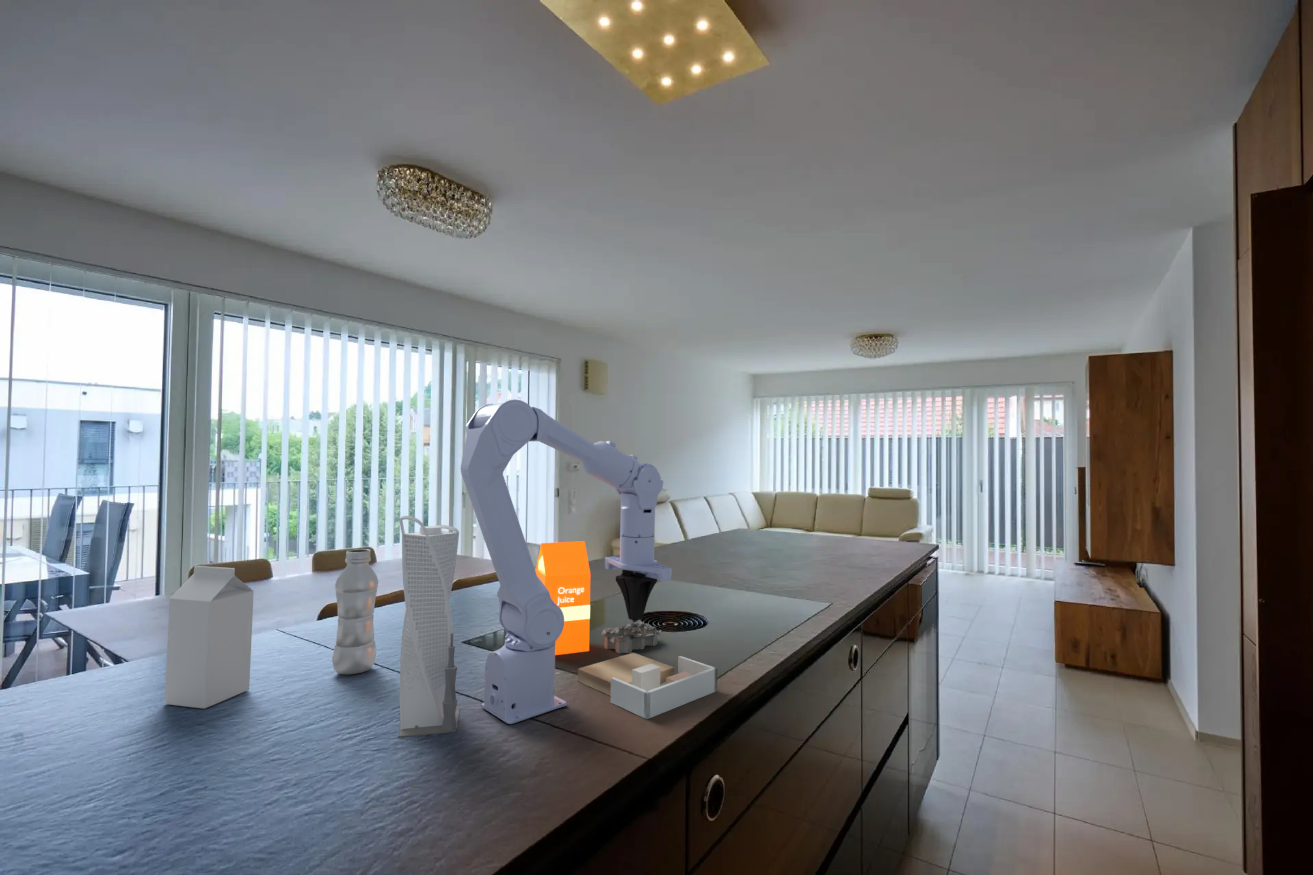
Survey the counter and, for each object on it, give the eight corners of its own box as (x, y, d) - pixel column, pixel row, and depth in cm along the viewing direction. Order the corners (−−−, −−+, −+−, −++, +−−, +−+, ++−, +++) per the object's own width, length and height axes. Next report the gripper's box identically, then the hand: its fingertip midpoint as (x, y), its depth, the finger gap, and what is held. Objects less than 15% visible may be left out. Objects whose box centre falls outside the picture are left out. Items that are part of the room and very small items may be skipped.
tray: (646, 719, 81) (647, 693, 81) (610, 702, 86) (610, 678, 86) (716, 690, 91) (717, 668, 91) (680, 677, 97) (680, 655, 97)
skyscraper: (385, 740, 74) (393, 518, 75) (396, 714, 82) (403, 513, 83) (456, 733, 76) (462, 517, 78) (459, 708, 84) (465, 512, 85)
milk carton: (204, 709, 82) (211, 572, 82) (163, 705, 83) (170, 570, 84) (249, 690, 89) (255, 564, 89) (210, 686, 90) (216, 562, 91)
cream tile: (631, 696, 88) (640, 700, 86) (632, 669, 88) (641, 673, 86) (650, 689, 90) (660, 693, 89) (651, 663, 91) (660, 666, 89)
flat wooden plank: (618, 699, 87) (618, 685, 87) (577, 681, 94) (578, 668, 94) (674, 679, 96) (674, 667, 96) (633, 664, 103) (633, 652, 103)
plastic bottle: (384, 666, 100) (388, 548, 101) (360, 680, 93) (364, 554, 94) (348, 664, 101) (352, 547, 102) (322, 678, 94) (327, 553, 95)
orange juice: (533, 644, 113) (535, 540, 114) (577, 639, 117) (579, 538, 118) (543, 657, 106) (545, 545, 107) (589, 651, 110) (591, 543, 111)
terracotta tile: (666, 677, 90) (665, 690, 90) (685, 684, 87) (685, 698, 87) (683, 671, 93) (683, 684, 93) (702, 678, 90) (702, 691, 90)
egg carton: (621, 656, 107) (621, 634, 108) (597, 646, 113) (597, 625, 113) (664, 645, 115) (664, 624, 115) (639, 636, 120) (640, 616, 120)
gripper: (685, 538, 94) (684, 623, 94) (627, 530, 105) (625, 606, 104) (653, 541, 90) (652, 631, 89) (595, 532, 100) (594, 613, 99)
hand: (635, 618), depth 96 cm, fingers closed
